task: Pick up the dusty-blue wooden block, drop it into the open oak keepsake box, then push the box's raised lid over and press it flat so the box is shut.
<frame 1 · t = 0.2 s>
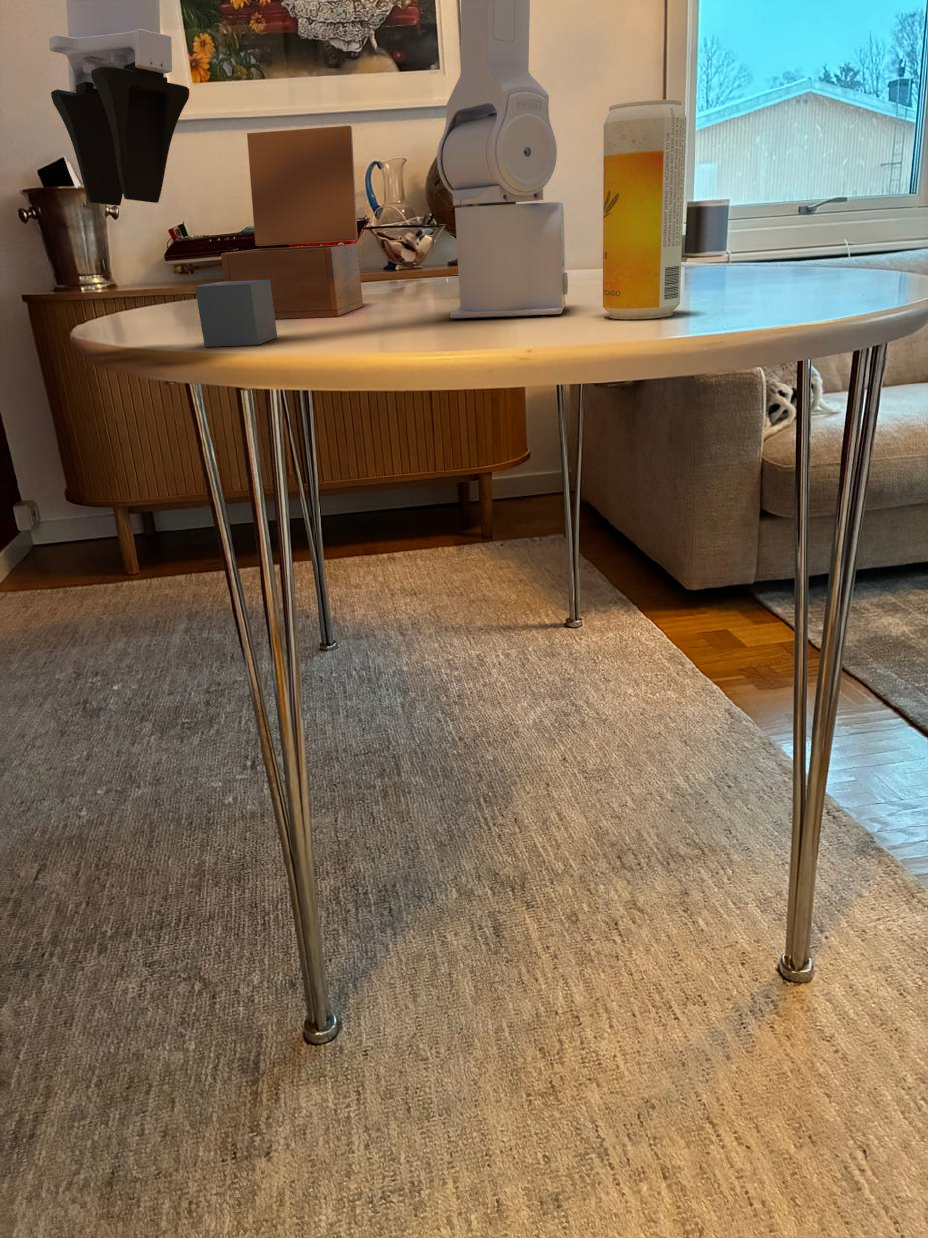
hand: (122, 202, 64), 10 cm above the table, tool pointing down, fingers open, 7 cm apart
beer can: (640, 318, 75), on the table
chest: (299, 313, 93), on the table
block: (241, 342, 73), on the table
lid: (302, 186, 94), point 12 cm above the table, hinge at 100.0°
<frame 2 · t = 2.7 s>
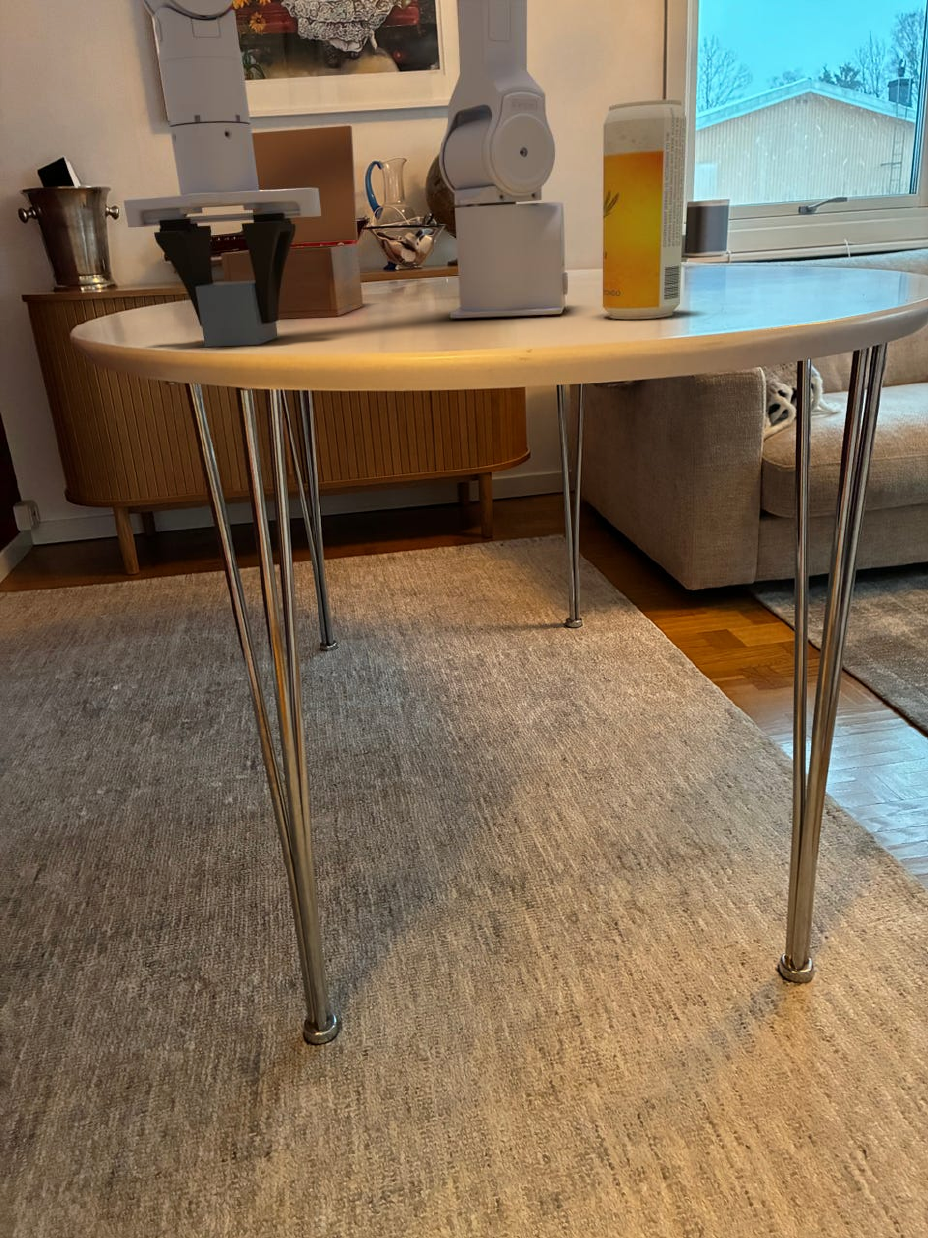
hand: (239, 323, 72), 1 cm above the table, tool pointing down, fingers closed on block, 4 cm apart
block: (242, 342, 73), on the table, touching gripper
everything else where it was.
when the fingers open (3 cm above the table, at t = 8.7 s): block stays where it is, resting on chest.
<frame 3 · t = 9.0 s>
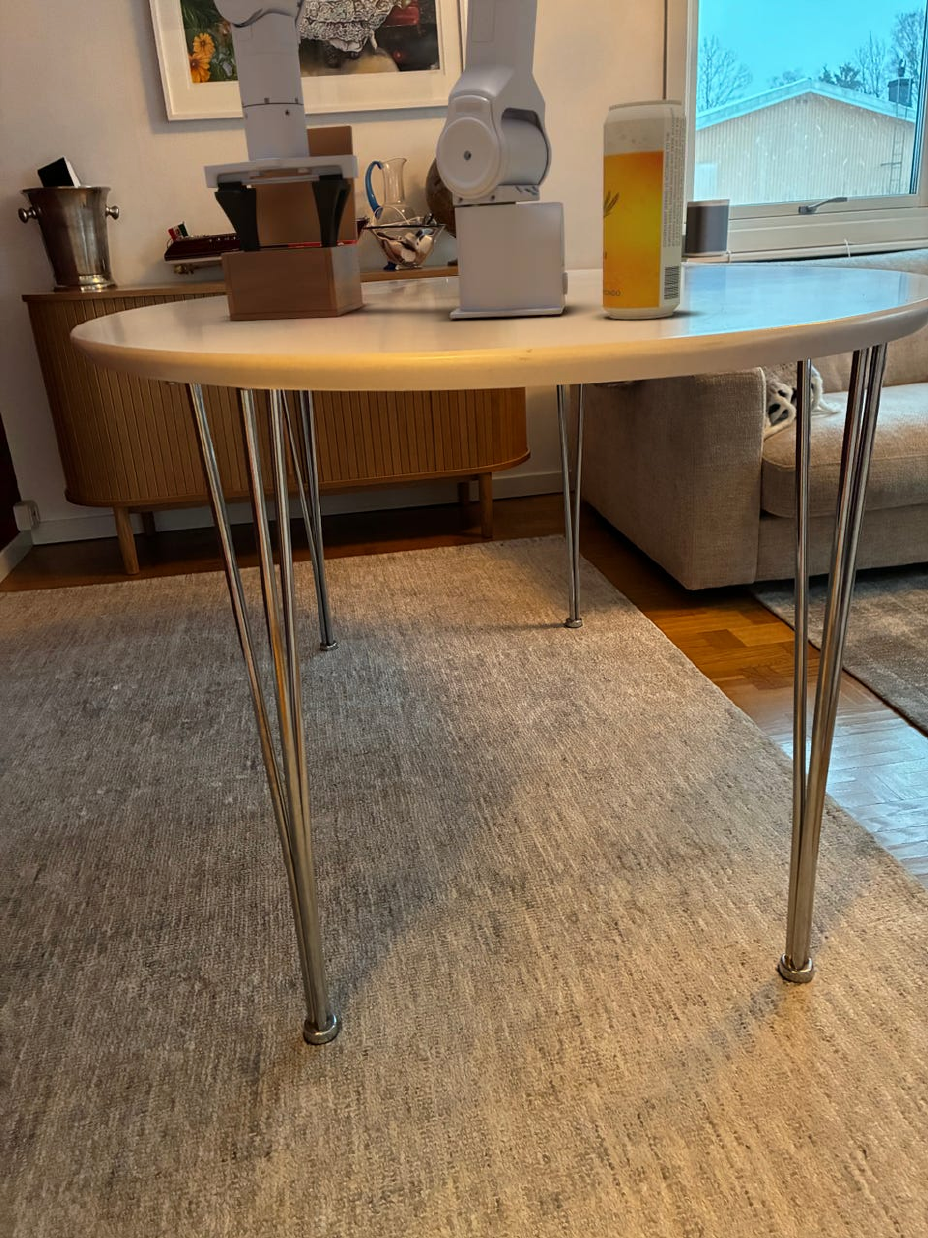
hand: (292, 264, 91), 5 cm above the table, tool pointing down, fingers open, 7 cm apart
block: (298, 307, 93), point 1 cm above the table, touching chest
everything else where it was.
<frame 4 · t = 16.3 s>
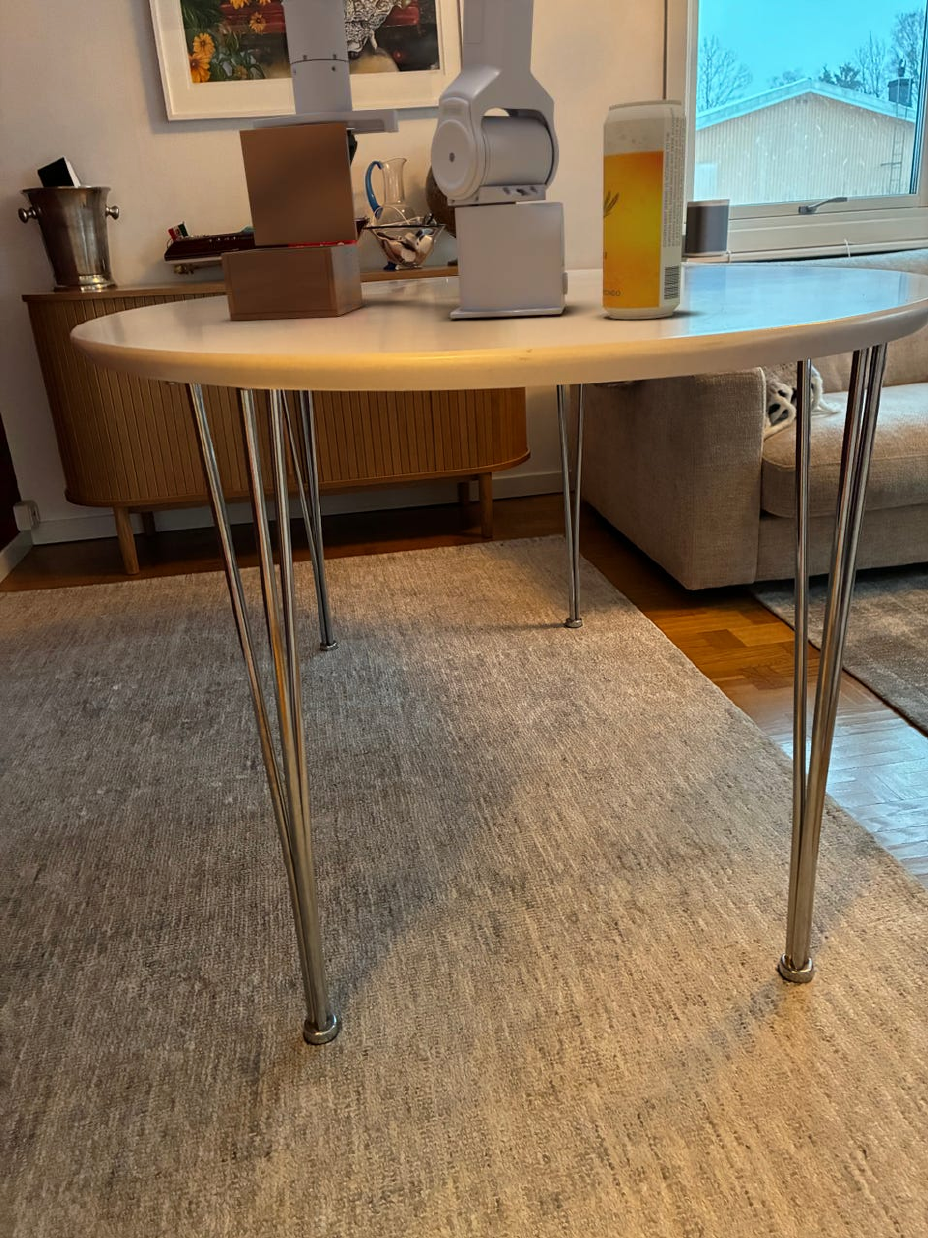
hand: (334, 215, 97), 9 cm above the table, tool pointing down, fingers closed, pressing on lid
lid: (299, 185, 93), point 12 cm above the table, hinge at 88.3°, touching gripper
everything else where it was.
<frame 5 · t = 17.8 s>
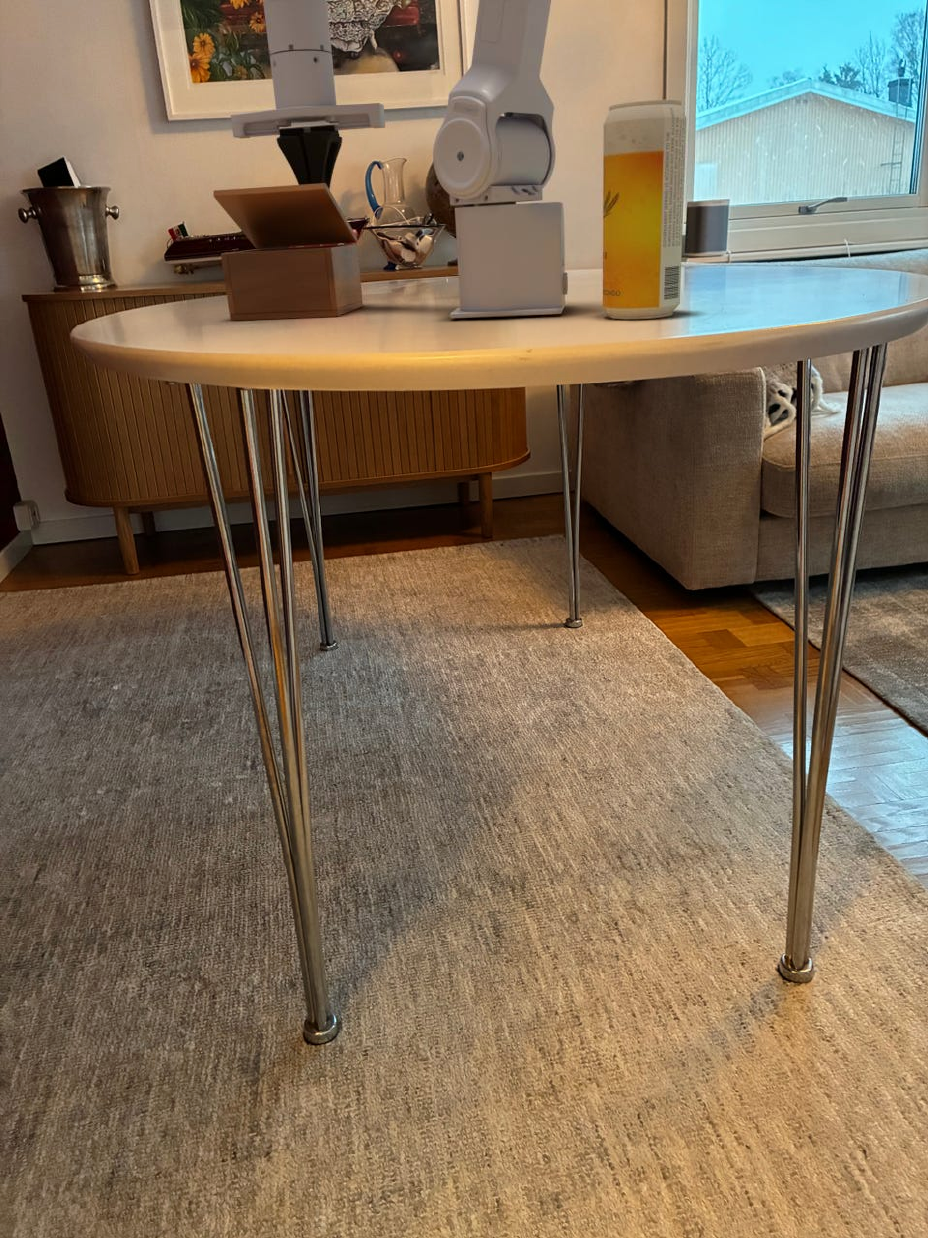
hand: (318, 215, 91), 9 cm above the table, tool pointing down, fingers closed, pressing on lid
lid: (288, 217, 90), point 9 cm above the table, hinge at 27.1°, touching gripper
everything else where it was.
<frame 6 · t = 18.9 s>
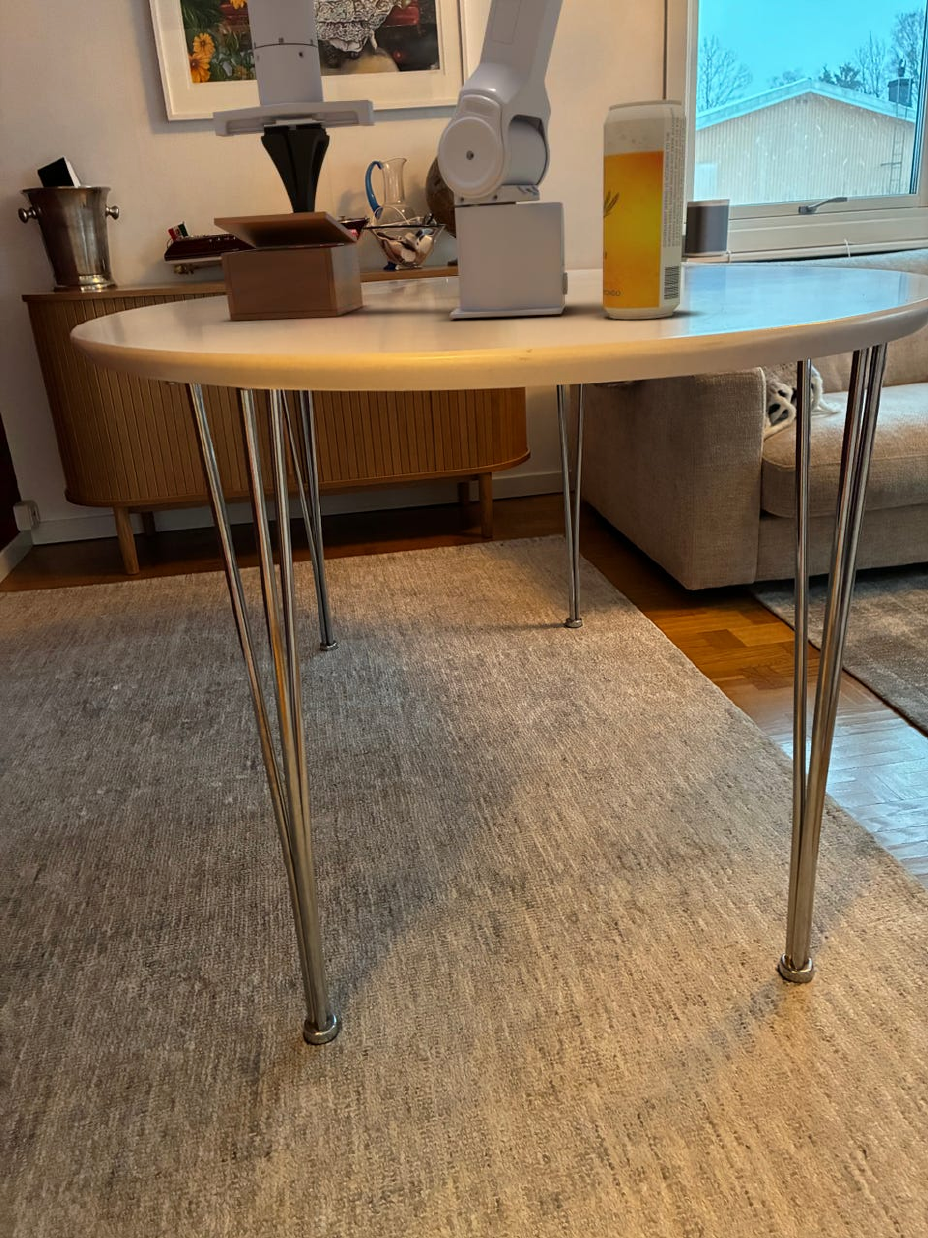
hand: (304, 217, 87), 9 cm above the table, tool pointing down, fingers closed
lid: (288, 230, 90), point 8 cm above the table, hinge at 13.4°
everything else where it was.
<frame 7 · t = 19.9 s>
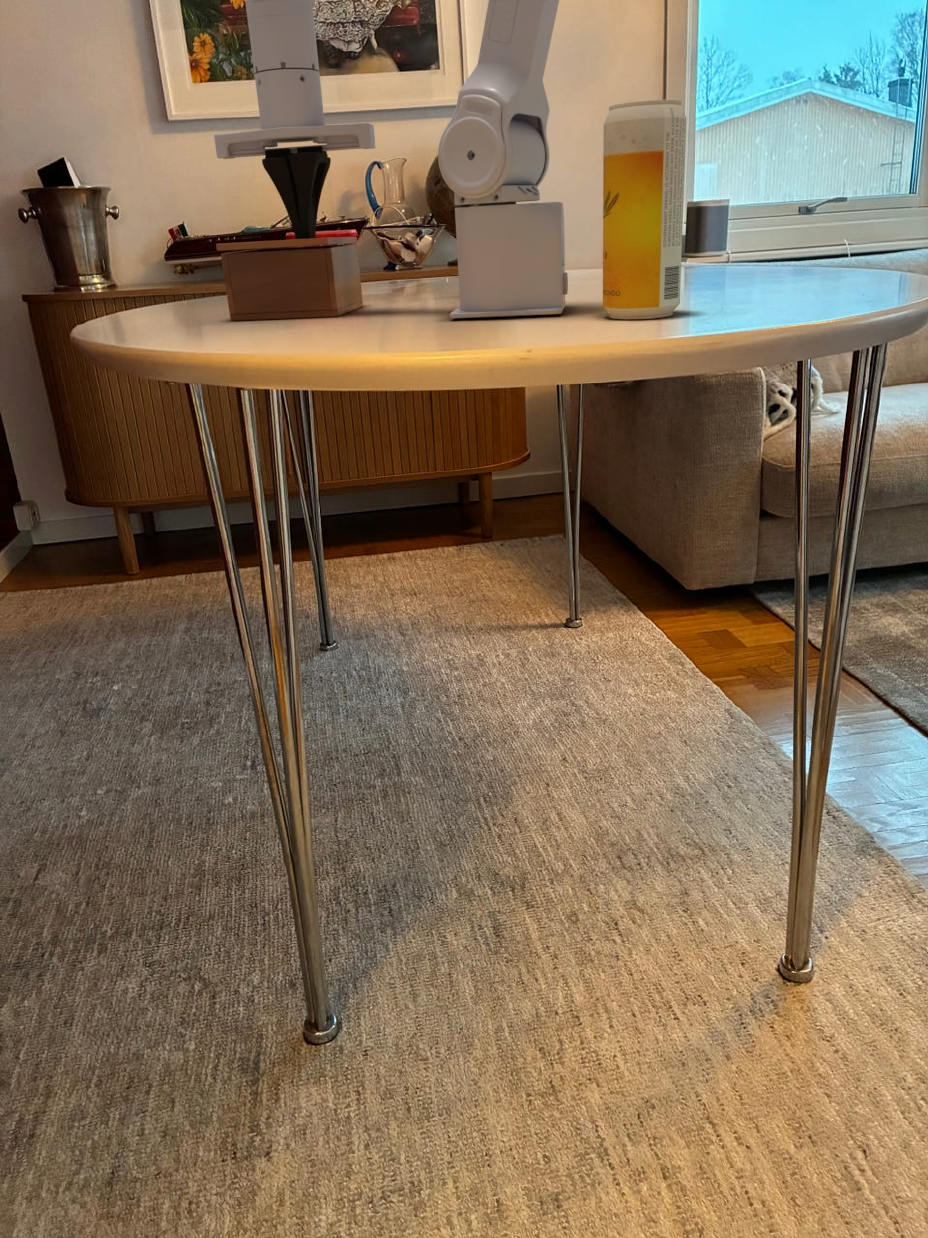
hand: (305, 239, 88), 7 cm above the table, tool pointing down, fingers closed, pressing on lid
lid: (289, 243, 90), point 7 cm above the table, hinge at 1.3°, touching gripper
everything else where it was.
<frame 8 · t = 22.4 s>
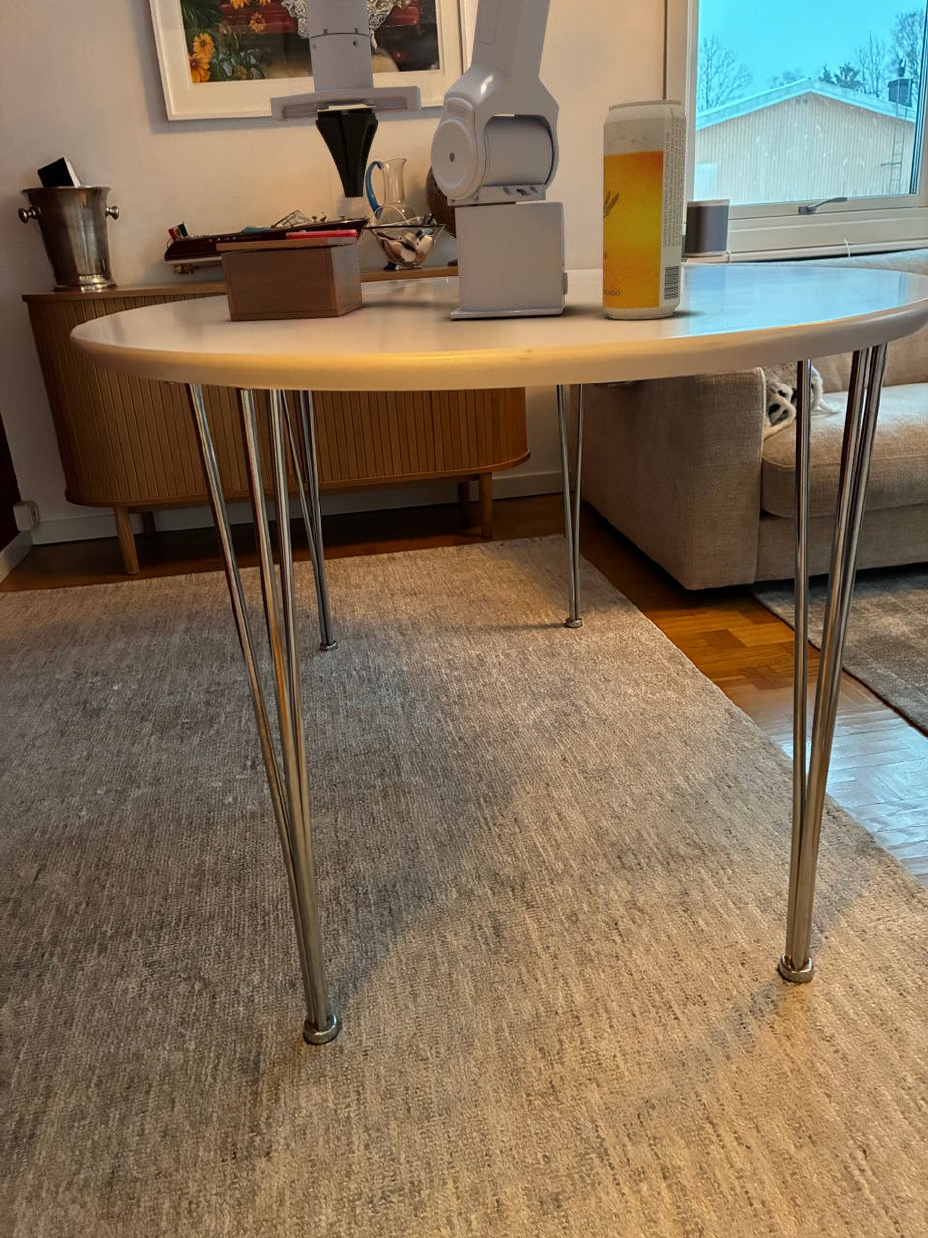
hand: (354, 197, 93), 10 cm above the table, tool pointing down, fingers closed
lid: (289, 243, 90), point 7 cm above the table, hinge at 1.3°
everything else where it was.
at the end: block inside the target area in the chest (0.0 cm from its centre), point 0.6 cm above the chest's base; lid at +1° (first picture: +100°) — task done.
